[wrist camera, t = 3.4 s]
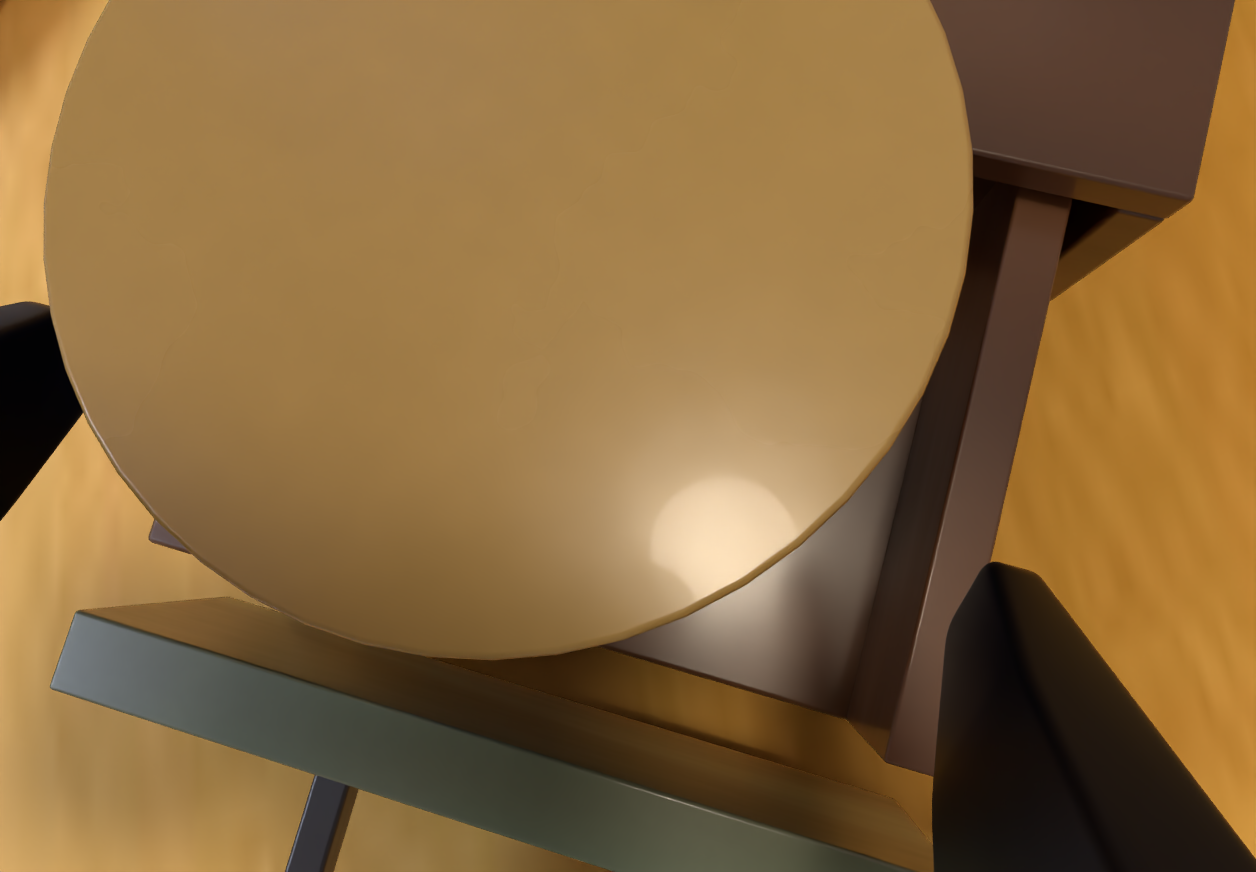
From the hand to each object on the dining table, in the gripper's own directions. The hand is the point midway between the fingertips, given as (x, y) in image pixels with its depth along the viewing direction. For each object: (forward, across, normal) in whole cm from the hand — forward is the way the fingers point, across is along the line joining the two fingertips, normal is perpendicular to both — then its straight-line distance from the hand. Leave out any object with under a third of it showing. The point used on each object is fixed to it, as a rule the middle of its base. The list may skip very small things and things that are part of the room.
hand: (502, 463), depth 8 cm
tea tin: (+6, 0, +4) cm, 8 cm away
